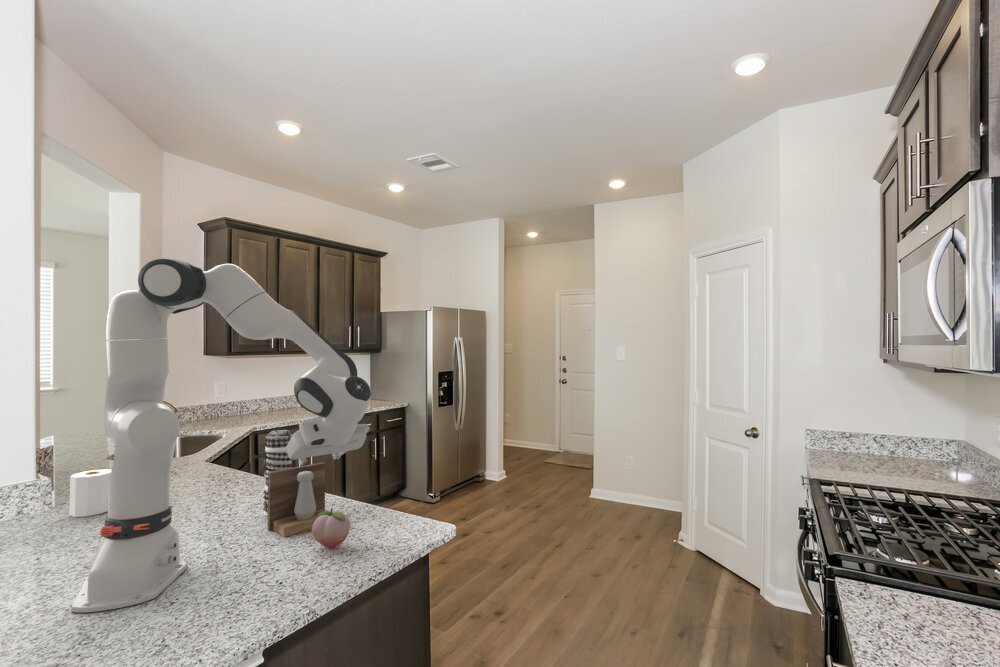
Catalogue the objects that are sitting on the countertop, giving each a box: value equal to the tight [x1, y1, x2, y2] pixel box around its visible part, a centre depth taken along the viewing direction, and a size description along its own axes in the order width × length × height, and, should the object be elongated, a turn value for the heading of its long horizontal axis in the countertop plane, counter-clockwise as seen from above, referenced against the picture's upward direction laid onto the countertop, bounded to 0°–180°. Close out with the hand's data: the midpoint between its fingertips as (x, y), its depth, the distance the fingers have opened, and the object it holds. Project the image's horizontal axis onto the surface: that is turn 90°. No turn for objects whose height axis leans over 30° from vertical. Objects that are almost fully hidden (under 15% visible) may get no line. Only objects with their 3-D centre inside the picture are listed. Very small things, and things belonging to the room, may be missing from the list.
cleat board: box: [267, 461, 326, 538], centre depth 137 cm, size 9×16×16 cm, turn 136°
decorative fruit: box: [311, 508, 351, 549], centre depth 121 cm, size 9×8×10 cm
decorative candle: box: [262, 429, 295, 517], centre depth 149 cm, size 9×9×25 cm
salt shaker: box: [294, 471, 316, 521], centre depth 136 cm, size 6×6×13 cm
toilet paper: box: [68, 468, 112, 518], centre depth 150 cm, size 10×10×12 cm
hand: (318, 460), depth 130 cm, fingers open, 8 cm apart
